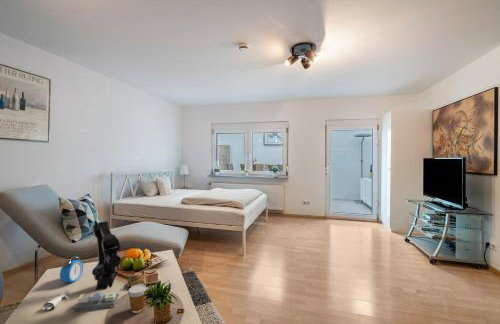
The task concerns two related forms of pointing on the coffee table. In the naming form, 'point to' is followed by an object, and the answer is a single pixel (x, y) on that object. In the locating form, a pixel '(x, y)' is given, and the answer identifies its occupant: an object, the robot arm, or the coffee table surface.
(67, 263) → the alarm clock
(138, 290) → the disposable coffee cup
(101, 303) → the keypad
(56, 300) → the woman figurine
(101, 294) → the key blue
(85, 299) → the key ivory
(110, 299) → the key sage
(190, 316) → the coffee table surface
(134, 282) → the pastry
